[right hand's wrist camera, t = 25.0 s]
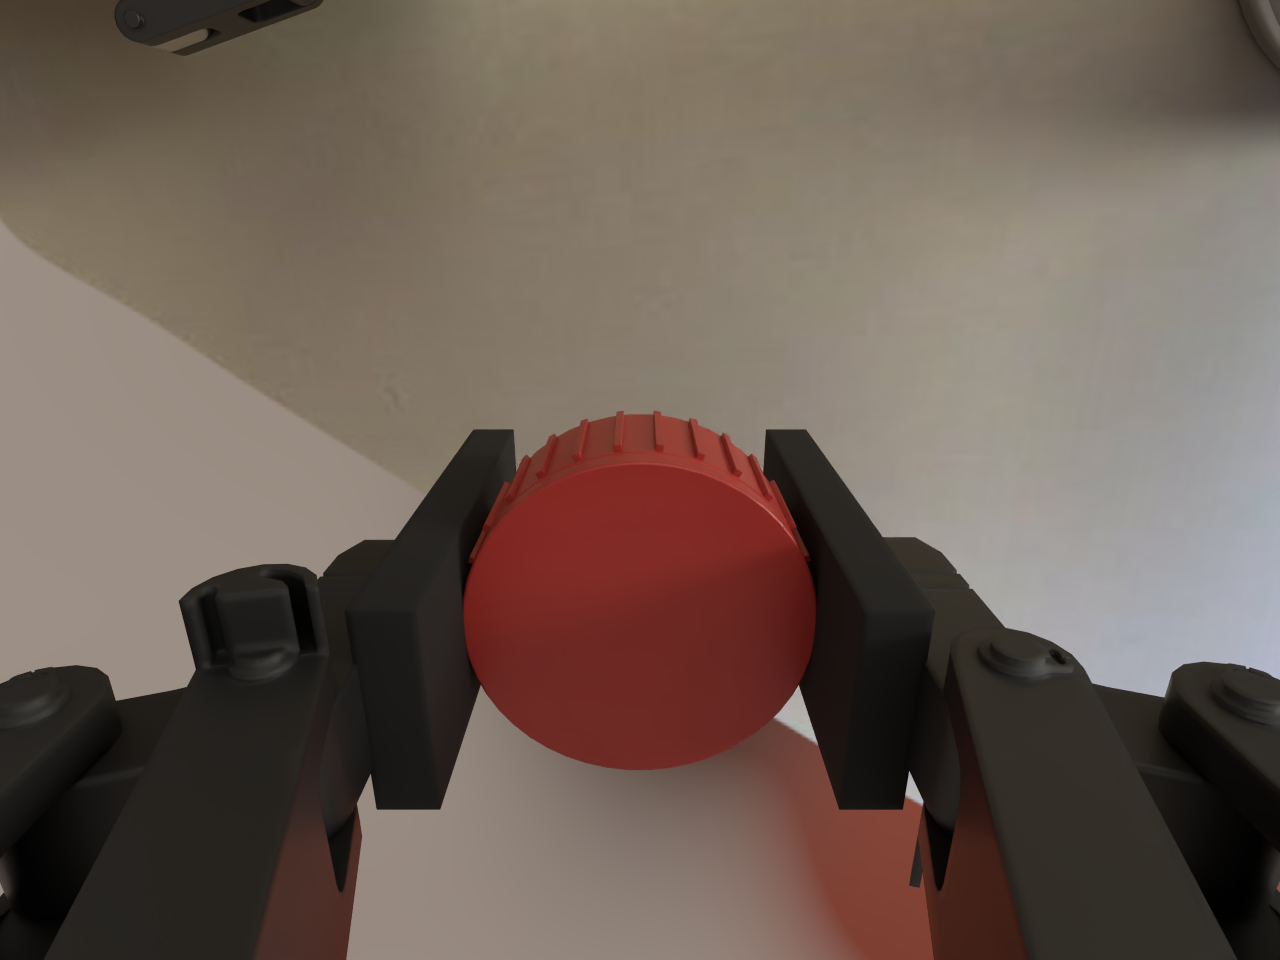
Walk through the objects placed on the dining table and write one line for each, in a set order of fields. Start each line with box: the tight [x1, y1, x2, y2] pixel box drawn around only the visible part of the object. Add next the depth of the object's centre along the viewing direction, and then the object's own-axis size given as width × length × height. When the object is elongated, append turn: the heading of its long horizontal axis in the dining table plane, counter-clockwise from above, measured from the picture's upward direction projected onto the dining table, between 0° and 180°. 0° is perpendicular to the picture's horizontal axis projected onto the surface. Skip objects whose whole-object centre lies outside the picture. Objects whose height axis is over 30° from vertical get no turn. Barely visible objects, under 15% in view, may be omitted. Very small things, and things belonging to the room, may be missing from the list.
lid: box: [463, 411, 817, 770], centre depth 11 cm, size 5×5×2 cm
